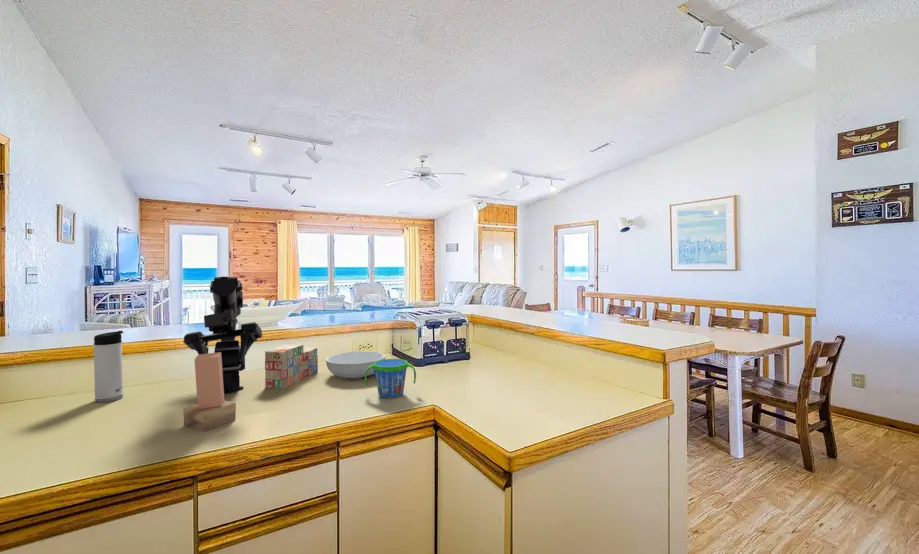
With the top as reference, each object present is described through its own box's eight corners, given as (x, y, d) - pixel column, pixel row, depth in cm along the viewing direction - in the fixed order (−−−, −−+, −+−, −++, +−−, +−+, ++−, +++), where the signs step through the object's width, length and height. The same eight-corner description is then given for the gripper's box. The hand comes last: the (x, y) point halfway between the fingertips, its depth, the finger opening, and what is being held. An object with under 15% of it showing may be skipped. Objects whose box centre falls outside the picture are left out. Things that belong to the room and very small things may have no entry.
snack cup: (361, 400, 118) (360, 366, 118) (369, 389, 128) (369, 358, 128) (413, 401, 118) (413, 366, 117) (417, 390, 128) (418, 358, 128)
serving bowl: (367, 365, 160) (367, 348, 160) (396, 376, 145) (396, 357, 145) (316, 374, 146) (316, 356, 146) (342, 387, 131) (342, 366, 131)
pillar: (201, 402, 102) (198, 354, 101) (224, 399, 104) (221, 352, 103) (198, 409, 98) (194, 359, 97) (221, 405, 100) (218, 356, 99)
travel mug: (125, 398, 119) (124, 331, 118) (96, 404, 114) (94, 334, 113) (122, 394, 123) (121, 329, 123) (93, 399, 118) (92, 332, 118)
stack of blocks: (303, 371, 151) (302, 339, 151) (318, 372, 150) (317, 339, 149) (264, 388, 130) (264, 350, 130) (282, 389, 129) (281, 351, 128)
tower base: (183, 428, 99) (183, 418, 99) (214, 417, 106) (214, 408, 106) (205, 433, 96) (204, 423, 96) (235, 422, 103) (235, 412, 103)
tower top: (183, 418, 99) (183, 408, 99) (213, 407, 106) (213, 398, 106) (206, 423, 96) (206, 412, 96) (235, 411, 103) (235, 402, 103)
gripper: (176, 306, 109) (170, 360, 101) (250, 295, 113) (249, 346, 105) (194, 324, 118) (190, 374, 110) (262, 313, 122) (262, 360, 114)
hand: (223, 363), depth 110 cm, fingers open, 9 cm apart
